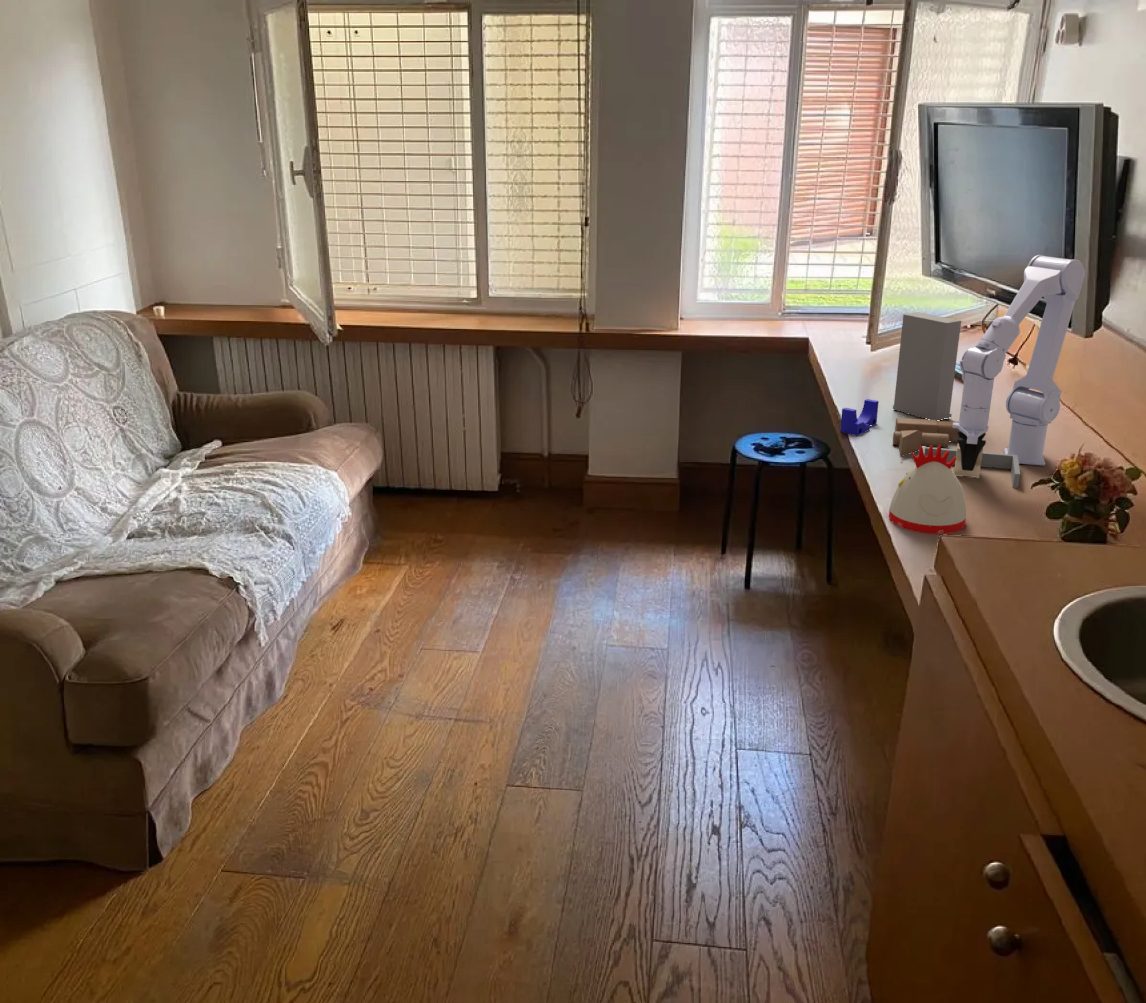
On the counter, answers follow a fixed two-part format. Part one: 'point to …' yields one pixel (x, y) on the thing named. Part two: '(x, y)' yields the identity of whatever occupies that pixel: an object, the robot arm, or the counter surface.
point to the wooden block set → (922, 434)
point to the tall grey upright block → (926, 365)
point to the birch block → (959, 470)
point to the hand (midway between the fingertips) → (967, 466)
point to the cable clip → (859, 418)
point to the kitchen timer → (929, 496)
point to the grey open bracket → (990, 461)
